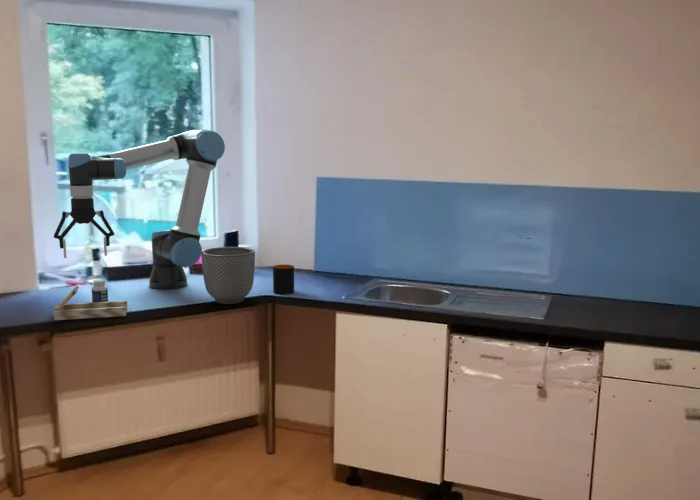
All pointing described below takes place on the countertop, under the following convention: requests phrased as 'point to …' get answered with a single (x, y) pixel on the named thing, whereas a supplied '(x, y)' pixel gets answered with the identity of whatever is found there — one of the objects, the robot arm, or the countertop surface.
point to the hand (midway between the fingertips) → (85, 256)
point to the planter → (228, 273)
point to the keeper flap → (69, 296)
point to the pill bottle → (99, 291)
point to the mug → (283, 279)
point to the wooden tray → (90, 310)
